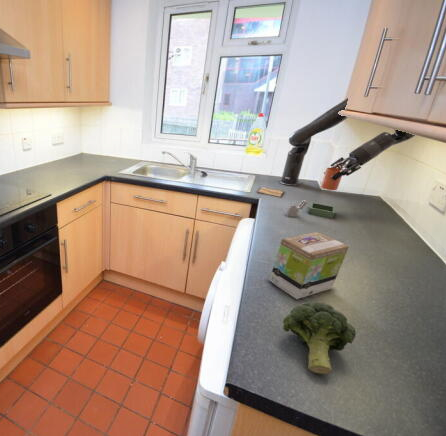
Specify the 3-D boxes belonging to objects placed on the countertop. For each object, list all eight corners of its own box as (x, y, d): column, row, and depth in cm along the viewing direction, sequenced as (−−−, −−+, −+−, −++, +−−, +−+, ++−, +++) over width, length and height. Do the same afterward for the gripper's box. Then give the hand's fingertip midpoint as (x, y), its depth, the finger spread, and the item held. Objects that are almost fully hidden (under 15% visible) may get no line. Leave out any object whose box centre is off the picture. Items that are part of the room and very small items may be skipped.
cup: (320, 185, 144) (326, 166, 140) (337, 187, 140) (343, 169, 137) (320, 188, 139) (326, 169, 135) (337, 191, 135) (343, 171, 132)
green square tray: (310, 207, 151) (311, 202, 149) (332, 212, 146) (334, 206, 144) (308, 213, 143) (310, 207, 142) (332, 218, 138) (334, 212, 137)
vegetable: (271, 354, 61) (277, 292, 70) (302, 382, 66) (304, 320, 74) (338, 358, 52) (335, 286, 61) (370, 390, 56) (363, 319, 65)
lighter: (287, 216, 139) (292, 200, 136) (286, 214, 141) (290, 198, 137) (303, 217, 139) (308, 201, 135) (301, 215, 140) (306, 199, 137)
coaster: (261, 187, 181) (261, 187, 180) (283, 191, 174) (283, 191, 174) (257, 192, 171) (257, 191, 171) (280, 197, 165) (280, 196, 165)
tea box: (298, 301, 81) (313, 254, 75) (268, 281, 90) (280, 237, 84) (333, 289, 87) (350, 244, 81) (301, 271, 95) (315, 229, 89)
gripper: (380, 162, 125) (341, 187, 132) (360, 156, 139) (325, 178, 145) (371, 149, 124) (332, 174, 130) (352, 143, 137) (317, 167, 143)
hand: (328, 176), depth 137 cm, fingers closed on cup, 6 cm apart
